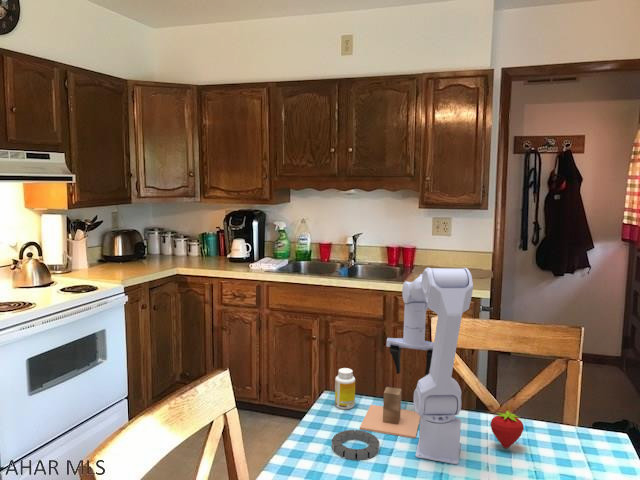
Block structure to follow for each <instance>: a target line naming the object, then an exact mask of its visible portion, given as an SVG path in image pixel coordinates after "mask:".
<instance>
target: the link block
mask: <svg viewBox="0 0 640 480" xmlns="http://www.w3.org/2000/svg"><path fill="white" fill-rule="evenodd" d="M401 407H402V388H398V387H392V386H391V387H390V386H386V387H385V389H384V392H383V422H384V423H390V424H397V425H398V424H399V420H400V412H401V409H402V408H401Z"/></svg>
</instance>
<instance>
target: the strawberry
mask: <svg viewBox="0 0 640 480" xmlns="http://www.w3.org/2000/svg"><path fill="white" fill-rule="evenodd" d="M496 414H497V415H495V416H494V417H493V418H492V419H491V420H490V421H491V422H490V429H491V432H492V433H493V435H494V437H495V439H497V441H498V442H499V443H500V445H501V446H502V447H503V448H504V449H509V448H510V447H511V446H512V445H513V444H514V443H516V442H517V440H518V439H520V437H521V436H522V434H523V432H524V423H523V421H521V416H517V415H516V414H514V413H512V412H511V408H510V406H509V405H508V410H507V411H505V413H504V412H503V413H500V412H496Z"/></svg>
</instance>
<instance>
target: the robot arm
mask: <svg viewBox="0 0 640 480" xmlns="http://www.w3.org/2000/svg"><path fill="white" fill-rule="evenodd" d="M473 281H474V280H473V276H472V273H471V271H470V270H469V268H466V267H463V268H452V267H451V268H450V267H449V268H442V267H441V268H438V267H437V268H435V267H433V268H431V267H426V268H424V270H423V271H422V273H420V274H419V276H417V278H415V279H414V280H413V281H407V280H405V281H404V282H403V285H402V290H401V291H402V293H401V294H402V301H403V303H404V311H403V312H404V313H403V337H397V338H395V337H387V339H386V347H388V348H389V353H390V355H391V357H392V359H393V363H394V366H395V371H396V374H397V375H399V374H400V373H401V351H402V349H412V350H421V351H426V356H425V357H426V361H425V364H426V365H425V371H424V374H425V375H424V376H423V377H422V378H420V379H419V380H418V381H417V384H416V388H415V389H414V392H413V407H414V411H416V413H417V414H418V415H419V416H420V422H419V438H418V439H419V440H418V443H417V447H416V451H415V457H416V458H419V459H424V460H430V461H437V462H442V463H446V464H453V465H459V461H460V459H459V458H460V452H461V451H462V443H461V427H462V419H461V418H457V417H456V416H458V415H459V413H460V412H461V410H462V393H463V392H462V389H461V387H460V385H459V383H458V382H457V380H456V379H455V378H453V377H452V375H453V371H454V370H453V369H454V363H455V358H456V354H457V351H456V350H457V345H458V340H459V334H460V328H461V323H462V318H463V313H465V312H467V311H468V310H469V309H470V305H471V302H472V295H473V290H474V283H473ZM428 309H429V310H430V311H432V312H434V313H435V314H436V315H437V318H436V319H437V320H436V327H435V333H434V341H428V340H425V339H426V336H425V335H426V320H427V319H426V318H427V311H428Z"/></svg>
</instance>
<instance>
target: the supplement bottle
mask: <svg viewBox="0 0 640 480" xmlns="http://www.w3.org/2000/svg"><path fill="white" fill-rule="evenodd" d="M334 381H335V383H334V384H335V385H334V406H335V407H336V408H337V409H340V410H341V409H342V410H349V409H350V410H351V409H353V408H354V407H355V404H356V399H355V398H356V396H355V395H356V378H355V376H354V374H353V369H351V368H350V367H349V368H348V367H343V368H339V369H338V373H337V375H336V376H335V379H334Z"/></svg>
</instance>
